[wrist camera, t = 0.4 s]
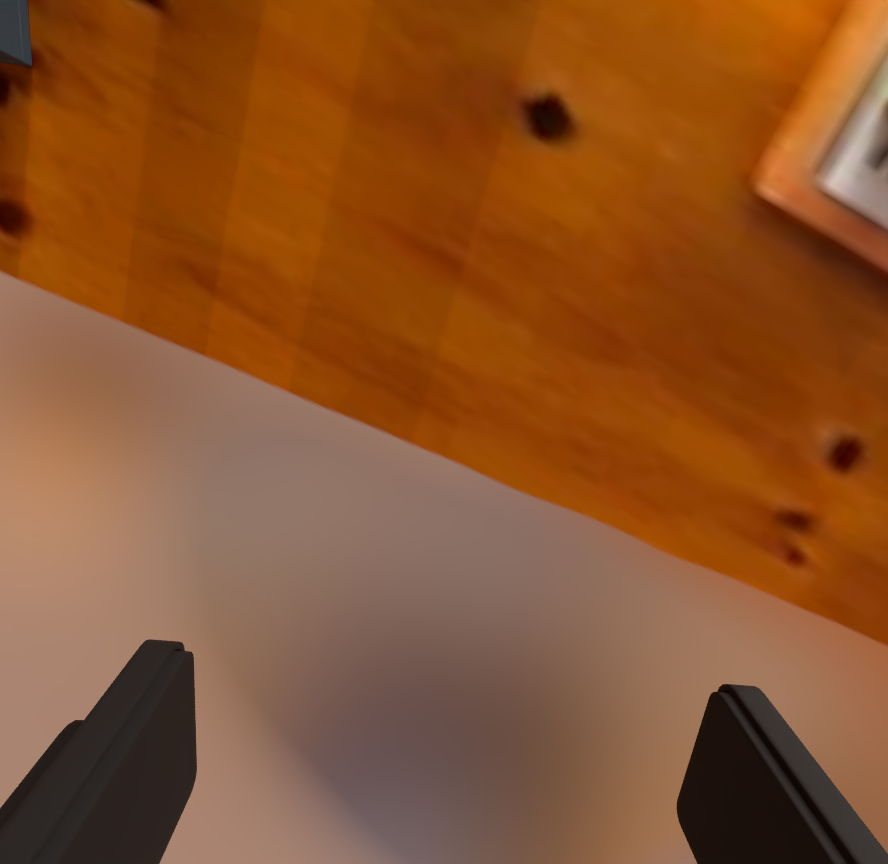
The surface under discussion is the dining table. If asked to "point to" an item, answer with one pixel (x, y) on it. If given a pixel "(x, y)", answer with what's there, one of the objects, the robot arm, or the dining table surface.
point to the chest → (15, 33)
